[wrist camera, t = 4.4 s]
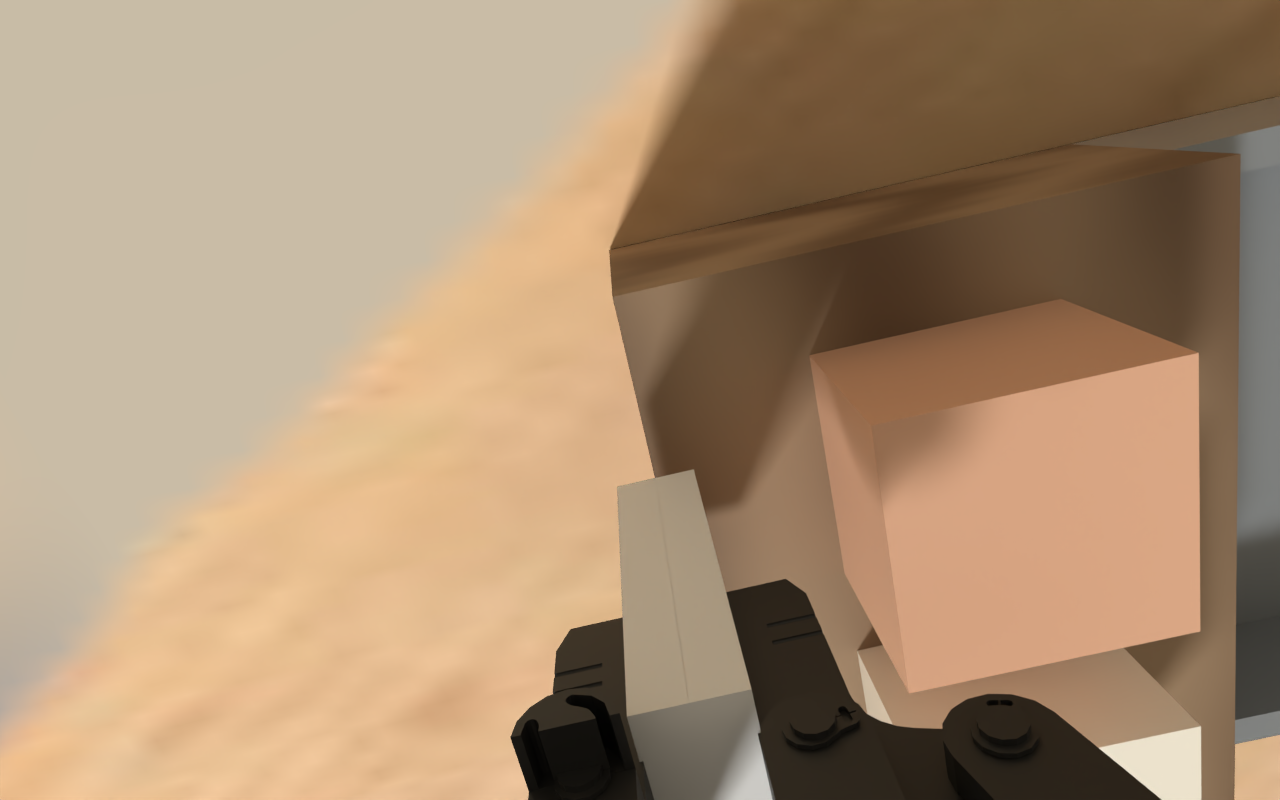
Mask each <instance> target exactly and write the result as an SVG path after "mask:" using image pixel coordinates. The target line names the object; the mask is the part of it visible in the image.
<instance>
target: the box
mask: <svg viewBox="0 0 1280 800" xmlns="http://www.w3.org/2000/svg"><path fill="white" fill-rule="evenodd" d="M1074 144H1075V145H1093V146H1111V147H1129V148H1147V149H1164V150H1182V151H1200V152H1218V153H1236V154H1241V166H1240V268H1239V369H1238V470H1237V572H1236V673H1235V744H1238V743H1242V742H1247V741H1252V740H1257V739H1262V738H1266V737H1271V736H1276V735H1280V96H1279V97H1274V98H1270V99H1265V100H1261V101H1257V102H1252V103H1248V104H1244V105H1239V106H1235V107H1231V108H1226V109H1222V110H1218V111H1213V112H1209V113H1205V114H1200V115H1196V116H1191V117H1187V118H1183V119H1178V120H1174V121H1170V122H1165V123H1161V124H1157V125H1152V126H1148V127H1144V128H1139V129H1135V130H1130V131H1126V132H1122V133H1117V134H1113V135H1109V136H1104V137H1100V138H1096V139H1091V140H1087V141H1083V142H1078V143H1074Z"/></svg>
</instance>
